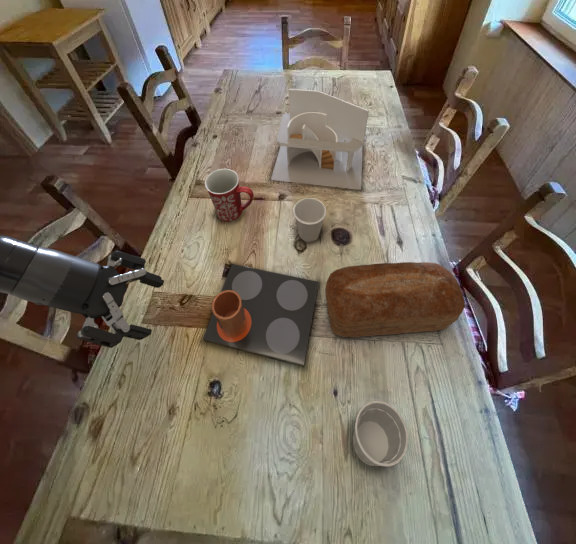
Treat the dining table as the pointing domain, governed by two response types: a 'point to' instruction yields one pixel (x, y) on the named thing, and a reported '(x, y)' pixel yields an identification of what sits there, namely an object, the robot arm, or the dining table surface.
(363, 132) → the architectural model
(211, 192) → the mug
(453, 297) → the bread
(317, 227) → the dixie cup
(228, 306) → the cup
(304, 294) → the stove
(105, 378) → the dining table surface
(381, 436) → the cup
